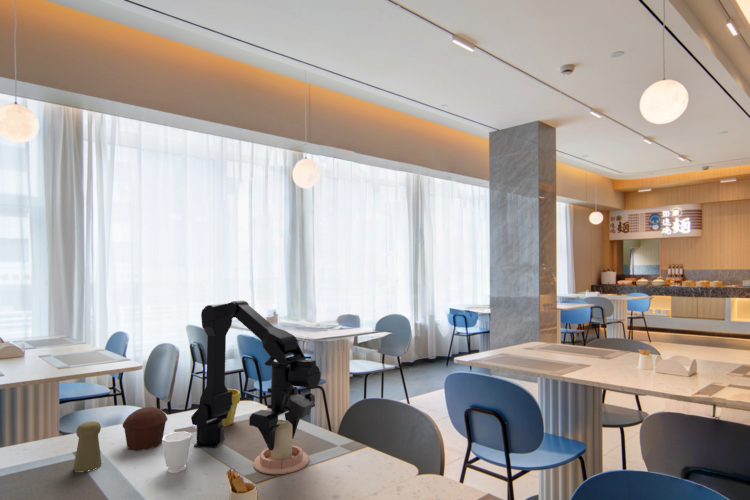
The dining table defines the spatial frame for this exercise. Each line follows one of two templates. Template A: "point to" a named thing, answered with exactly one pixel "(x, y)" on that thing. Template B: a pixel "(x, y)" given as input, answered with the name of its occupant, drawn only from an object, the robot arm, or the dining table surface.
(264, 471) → the candle dish
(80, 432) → the cork
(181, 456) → the cup
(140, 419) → the muffin
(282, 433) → the candle
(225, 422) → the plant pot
